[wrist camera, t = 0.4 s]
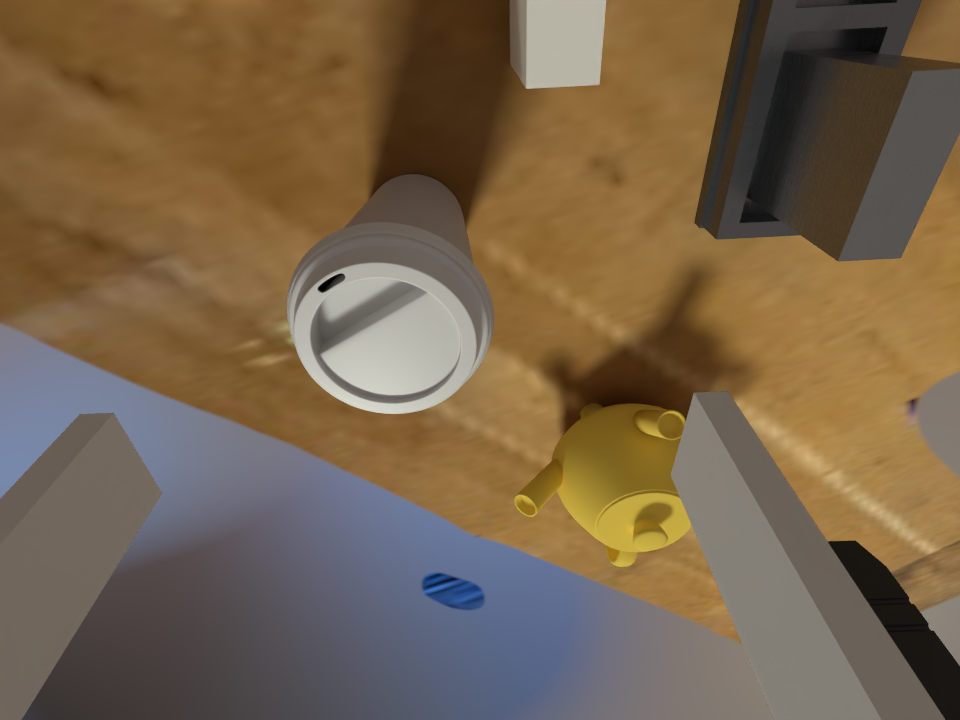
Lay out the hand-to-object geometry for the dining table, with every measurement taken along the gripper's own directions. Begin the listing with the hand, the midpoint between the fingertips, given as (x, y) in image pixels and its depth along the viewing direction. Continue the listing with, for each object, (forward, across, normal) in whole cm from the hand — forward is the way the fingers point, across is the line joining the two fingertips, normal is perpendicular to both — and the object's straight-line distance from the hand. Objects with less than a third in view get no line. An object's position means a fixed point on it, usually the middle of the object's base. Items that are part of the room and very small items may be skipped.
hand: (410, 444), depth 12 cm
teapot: (+25, +13, -23) cm, 36 cm away
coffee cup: (+25, -2, -4) cm, 25 cm away
